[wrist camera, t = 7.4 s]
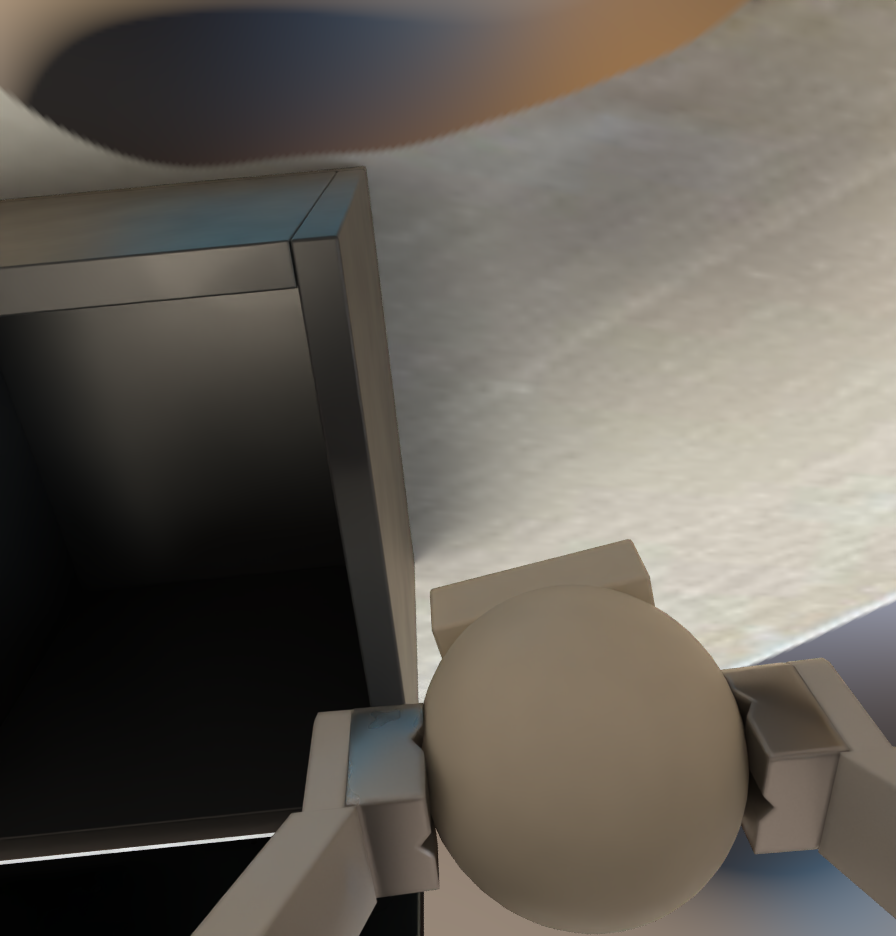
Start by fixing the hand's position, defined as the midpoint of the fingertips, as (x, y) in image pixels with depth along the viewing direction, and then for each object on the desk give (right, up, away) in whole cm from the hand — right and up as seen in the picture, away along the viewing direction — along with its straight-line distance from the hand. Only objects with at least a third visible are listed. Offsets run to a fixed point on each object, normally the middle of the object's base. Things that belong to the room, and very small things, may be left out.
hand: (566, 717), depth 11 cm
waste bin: (-11, +6, +18) cm, 21 cm away
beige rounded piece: (0, +1, +2) cm, 2 cm away
